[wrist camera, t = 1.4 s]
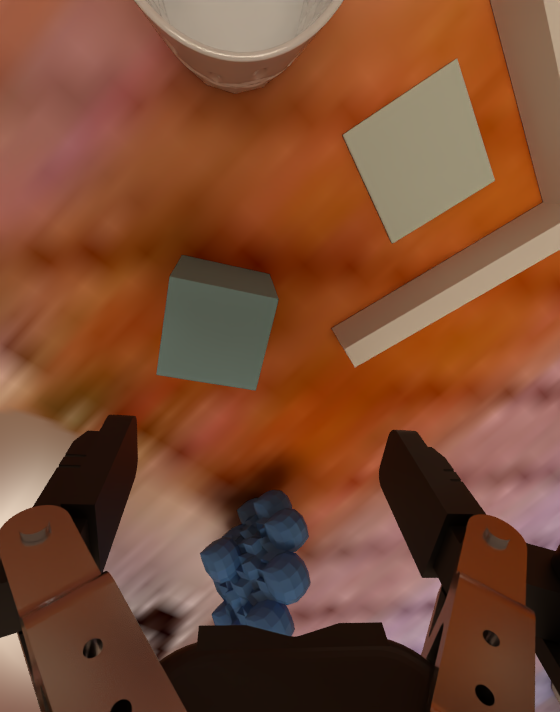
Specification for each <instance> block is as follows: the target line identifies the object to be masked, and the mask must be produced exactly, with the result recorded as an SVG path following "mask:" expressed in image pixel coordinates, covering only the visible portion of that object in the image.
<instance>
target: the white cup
mask: <svg viewBox="0 0 560 712" xmlns="http://www.w3.org/2000/svg"><path fill="white" fill-rule="evenodd" d="M134 1H135V2H136V4H137V5H138V6H139V8H140V9H141V10H142V12H143V13H144V15H145V16H146V17H147V19H148V20H149V22H150V23H151V24H152V26H153V27H154V29H155V30H156V32H157V33H158V34H159V36H160V37H161V38H162V40H163V41H164V42H165V43H166V45H167V46H168V47H169V48H170V49H171V50H172V52H173V53H174V54H175V55H176V56H177V58H178V59H179V60H180V61H181V62H182V63H183V64H184V65H185V66H186V67H187V68H188V69H190V70H191V71H192V72H193V73H194V74H195V75H196V76H198V77H199V78H200V79H201V80H202V81H203V82H204V83H205V84H206V85H209V86H212V87H215V88H218V89H222V90H225V91H228V92H231V93H235V94H236V93H240V92H245V91H249V90H253V89H258V88H262V87H264V86H265V85H266V84H267V83H269V82H270V81H271V80H272V79H273V78H274V77H276V76H278V75H279V74H281V73H282V72H283V71H284V70H285V69H286V68H287V67H289V66H290V65H291V63H292V62H293V61H294V60H295V59H296V58H297V57H298V56H299V55H300V54H301V53H302V52H303V50H304V49H305V48H306V47H307V46H308V44H309V43H310V42H311V41H312V39H313V38H314V37H315V36H316V35H317V33H318V32H319V31H320V30H321V29H322V28H323V26H324V25H325V24H326V23H327V22H328V21H329V19H330V18H331V17H332V16H333V15H334V13H335V12H336V11H337V9H338V8H339V6H340V5H341V4H342V2H343V0H134Z"/></svg>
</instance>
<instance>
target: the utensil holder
mask: <svg viewBox="0 0 560 712" xmlns="http://www.w3.org/2000/svg"><path fill="white" fill-rule="evenodd" d="M552 690H553V692H554V694H555V696H556V698H557V700H558V702H559V703H560V695H559V694H558V692H557V690H556V688H555V687H554V685H553V683H552Z"/></svg>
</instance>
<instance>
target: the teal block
mask: <svg viewBox="0 0 560 712" xmlns="http://www.w3.org/2000/svg"><path fill="white" fill-rule="evenodd" d="M278 300H279V299H278V296H277V293H276V290H275V288H274V285H273V282H272V279H271V277H270V274H267V273H262V272H258V271H253V270H249V269H244V268H239V267H235V266H230V265H226V264H221V263H217V262H212V261H208V260H203V259H198V258H194V257H189V256H185V255H182V256H181V258H180V260H179V261H178V263H177V265H176V266H175V268H174V270H173V272H172V273H171V275H170V278H169V286H168V293H167V300H166V308H165V315H164V323H163V330H162V337H161V345H160V352H159V360H158V367H157V374H156V375H161V376H168V377H174V378H180V379H186V380H193V381H199V382H205V383H212V384H218V385H224V386H231V387H237V388H243V389H250V390H256V387H257V383H258V379H259V375H260V371H261V367H262V363H263V359H264V355H265V351H266V347H267V343H268V339H269V335H270V331H271V328H272V324H273V320H274V316H275V312H276V308H277V304H278Z"/></svg>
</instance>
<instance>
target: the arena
mask: <svg viewBox="0 0 560 712" xmlns="http://www.w3.org/2000/svg"><path fill="white" fill-rule="evenodd" d="M490 2H491V6H492V10H493V14H494V17H495V21H496V25H497V29H498V33H499V36H500V40H501V44H502V48H503V52H504V56H505V59H506V63H507V67H508V71H509V75H510V78H511V82H512V86H513V90H514V94H515V98H516V101H517V105H518V109H519V113H520V117H521V120H522V124H523V128H524V132H525V136H526V140H527V143H528V147H529V151H530V155H531V159H532V162H533V166H534V170H535V174H536V178H537V182H538V185H539V189H540V193H541V197H542V201H543V203H541V204H539V205H537V206H536V207H534V208H532V209H531V210H529V211H527V212H526V213H524V214H522V215H521V216H519V217H517V218H516V219H514V220H512V221H511V222H509V223H507V224H506V225H504V226H502V227H501V228H499V229H497V230H496V231H494V232H492V233H491V234H489V235H487V236H486V237H484V238H482V239H480V240H479V241H477V242H475V243H474V244H472V245H470V246H469V247H467V248H465V249H464V250H462V251H460V252H459V253H457V254H455V255H454V256H452V257H450V258H449V259H447V260H445V261H444V262H442V263H440V264H439V265H437V266H435V267H434V268H432V269H430V270H428V271H427V272H425V273H423V274H422V275H420V276H418V277H417V278H415V279H413V280H412V281H410V282H408V283H407V284H405V285H403V286H402V287H400V288H398V289H397V290H395V291H393V292H392V293H390V294H388V295H387V296H385V297H383V298H382V299H380V300H378V301H376V302H375V303H373V304H371V305H370V306H368V307H366V308H365V309H363V310H361V311H360V312H358V313H356V314H355V315H353V316H351V317H350V318H348V319H346V320H345V321H343V322H341V323H340V324H338V325H336V326H335V327H333V328H331V329H332V330H333V332H334V334H335V335H336V337H337V339H338V340H339V342H340V344H341V346H342V347H343V349H344V350H345V352H346V354H347V355H348V357H349V358H350V360H351V362H352V363H353V365H354V366H355V367H357V366H358V365H360V364H362V363H363V362H365V361H367V360H369V359H370V358H372V357H374V356H376V355H377V354H379V353H381V352H383V351H384V350H386V349H388V348H390V347H391V346H393V345H395V344H396V343H398V342H400V341H402V340H403V339H405V338H407V337H409V336H410V335H412V334H414V333H416V332H417V331H419V330H421V329H423V328H424V327H426V326H428V325H429V324H431V323H433V322H435V321H436V320H438V319H440V318H442V317H443V316H445V315H447V314H449V313H450V312H452V311H454V310H456V309H457V308H459V307H461V306H462V305H464V304H466V303H468V302H469V301H471V300H473V299H475V298H476V297H478V296H480V295H482V294H483V293H485V292H487V291H489V290H490V289H492V288H494V287H495V286H497V285H499V284H501V283H502V282H504V281H506V280H508V279H509V278H511V277H513V276H515V275H516V274H518V273H520V272H522V271H523V270H525V269H527V268H528V267H530V266H532V265H534V264H535V263H537V262H539V261H541V260H542V259H544V258H546V257H548V256H549V255H551V254H553V253H555V252H556V251H558V250H560V0H490ZM342 136H343V138H344V140H345V143H346V145H347V147H348V149H349V151H350V154H351V156H352V158H353V160H354V162H355V164H356V167H357V169H358V171H359V173H360V175H361V178H362V180H363V182H364V184H365V186H366V188H367V191H368V193H369V195H370V197H371V199H372V202H373V204H374V206H375V208H376V210H377V212H378V215H379V217H380V219H381V221H382V223H383V226H384V228H385V230H386V232H387V234H388V237H389V239H390V241H391V243H394V242H396V241H397V240H399V239H401V238H402V237H404V236H406V235H407V234H409V233H411V232H412V231H414V230H415V229H417V228H419V227H420V226H422V225H424V224H425V223H427V222H428V221H430V220H432V219H433V218H435V217H437V216H438V215H440V214H441V213H443V212H445V211H446V210H448V209H450V208H451V207H453V206H454V205H456V204H458V203H459V202H461V201H463V200H464V199H466V198H467V197H469V196H471V195H472V194H474V193H476V192H477V191H479V190H480V189H482V188H484V187H485V186H487V185H489V184H490V183H492V182H493V181H495V179H494V176H493V173H492V170H491V167H490V163H489V160H488V157H487V154H486V150H485V147H484V144H483V141H482V137H481V134H480V131H479V128H478V125H477V121H476V118H475V115H474V112H473V108H472V105H471V102H470V99H469V96H468V92H467V89H466V86H465V83H464V79H463V76H462V73H461V70H460V66H459V63H458V60H457V59H455V60H454V61H452V62H451V63H449V64H448V65H446V66H445V67H443V68H442V69H440V70H439V71H437V72H436V73H434V74H433V75H431V76H430V77H428V78H427V79H425V80H424V81H422V82H421V83H419V84H418V85H416V86H415V87H413V88H412V89H410V90H409V91H407V92H406V93H404V94H403V95H401V96H400V97H398V98H397V99H395V100H394V101H392V102H391V103H389V104H388V105H386V106H385V107H383V108H382V109H380V110H379V111H377V112H376V113H374V114H373V115H371V116H370V117H368V118H367V119H365V120H364V121H362V122H361V123H359V124H358V125H356V126H355V127H353V128H352V129H350V130H349V131H348V132H346V133H345V134H343V135H342Z"/></svg>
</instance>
